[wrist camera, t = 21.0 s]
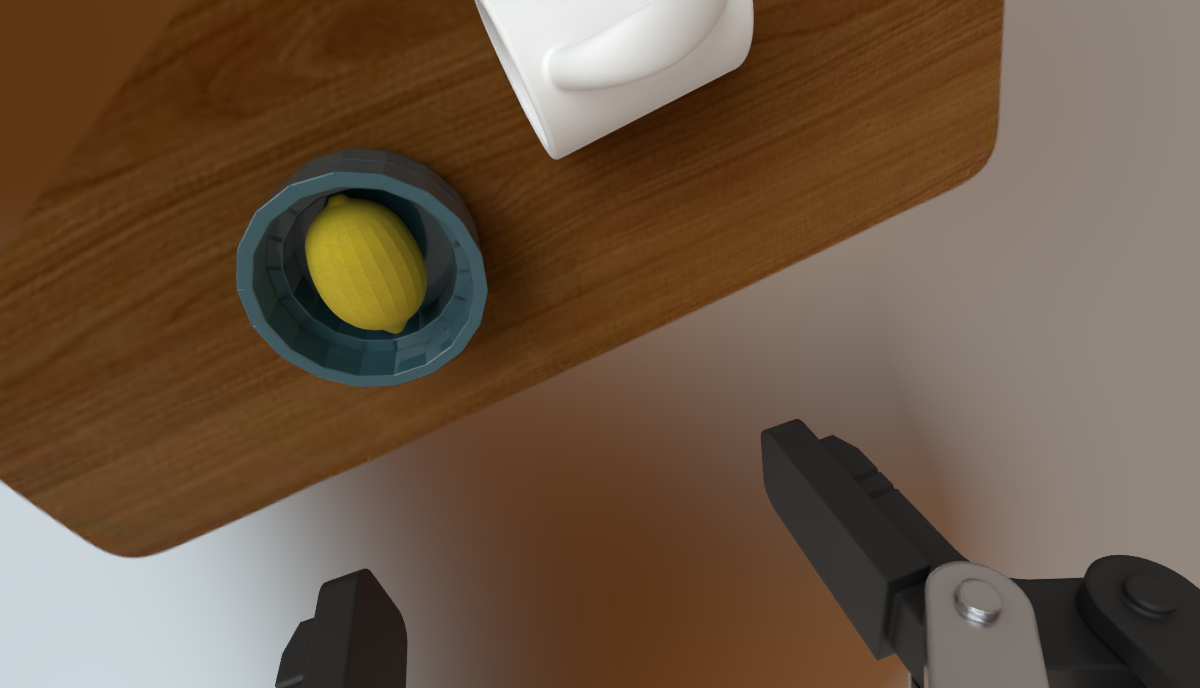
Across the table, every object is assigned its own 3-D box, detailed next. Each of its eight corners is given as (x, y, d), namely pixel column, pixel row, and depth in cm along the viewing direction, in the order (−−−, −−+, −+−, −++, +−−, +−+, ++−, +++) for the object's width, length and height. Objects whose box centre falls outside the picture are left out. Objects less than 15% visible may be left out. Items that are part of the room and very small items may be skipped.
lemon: (437, 298, 35) (384, 169, 31) (455, 332, 30) (397, 186, 26) (346, 332, 33) (279, 201, 29) (352, 373, 29) (273, 225, 25)
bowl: (222, 182, 29) (178, 217, 24) (438, 119, 30) (439, 140, 25) (327, 357, 35) (310, 414, 30) (504, 300, 36) (515, 346, 31)
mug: (699, 61, 32) (820, 83, 22) (538, 144, 32) (587, 203, 22) (651, -111, 28) (776, -180, 18) (464, -14, 28) (483, -29, 18)
